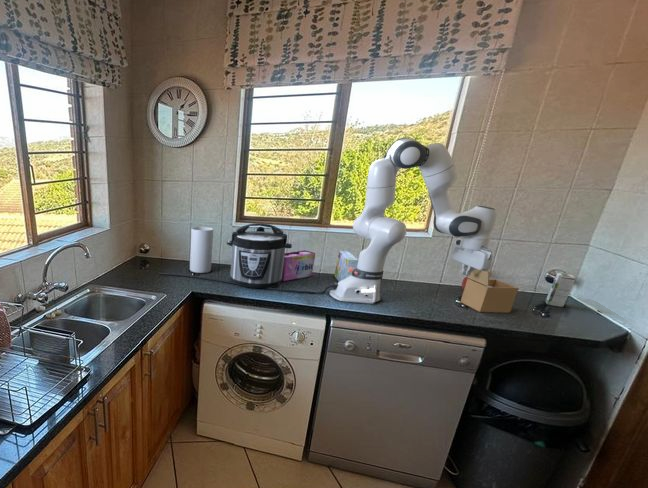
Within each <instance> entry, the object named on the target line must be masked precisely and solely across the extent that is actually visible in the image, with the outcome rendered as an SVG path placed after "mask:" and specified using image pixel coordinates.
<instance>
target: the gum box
mask: <svg viewBox="0 0 648 488" xmlns="http://www.w3.org/2000/svg"><path fill="white" fill-rule="evenodd" d="M315 259H316V252H313V251H309V250H297V251H290V252H285V255H284V263H283V271H282V279H281V282H287V281H291V280H297V279H302V278H308V277H312V276H313V270H314V264H315Z"/></svg>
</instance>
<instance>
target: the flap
mask: <svg viewBox="0 0 648 488" xmlns="http://www.w3.org/2000/svg"><path fill="white" fill-rule="evenodd" d="M466 277H467V278H470V279H472V280H475V281H477V282H479V283H482V284H484V285H486V286H489V279H490V272H489V271H488V270H487V271H483V270H478V269H474V270H473V271H472V272H471V275H470V276H466Z"/></svg>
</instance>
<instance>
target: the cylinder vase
mask: <svg viewBox="0 0 648 488" xmlns="http://www.w3.org/2000/svg"><path fill="white" fill-rule="evenodd" d="M190 231H191V232H190V251H189V252H190V254H189V272H192V273H195V274H207V273H210V272H211V270H212V258H213V244H214V243H213V242H214V227H211V226H194V227H191V230H190Z"/></svg>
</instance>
